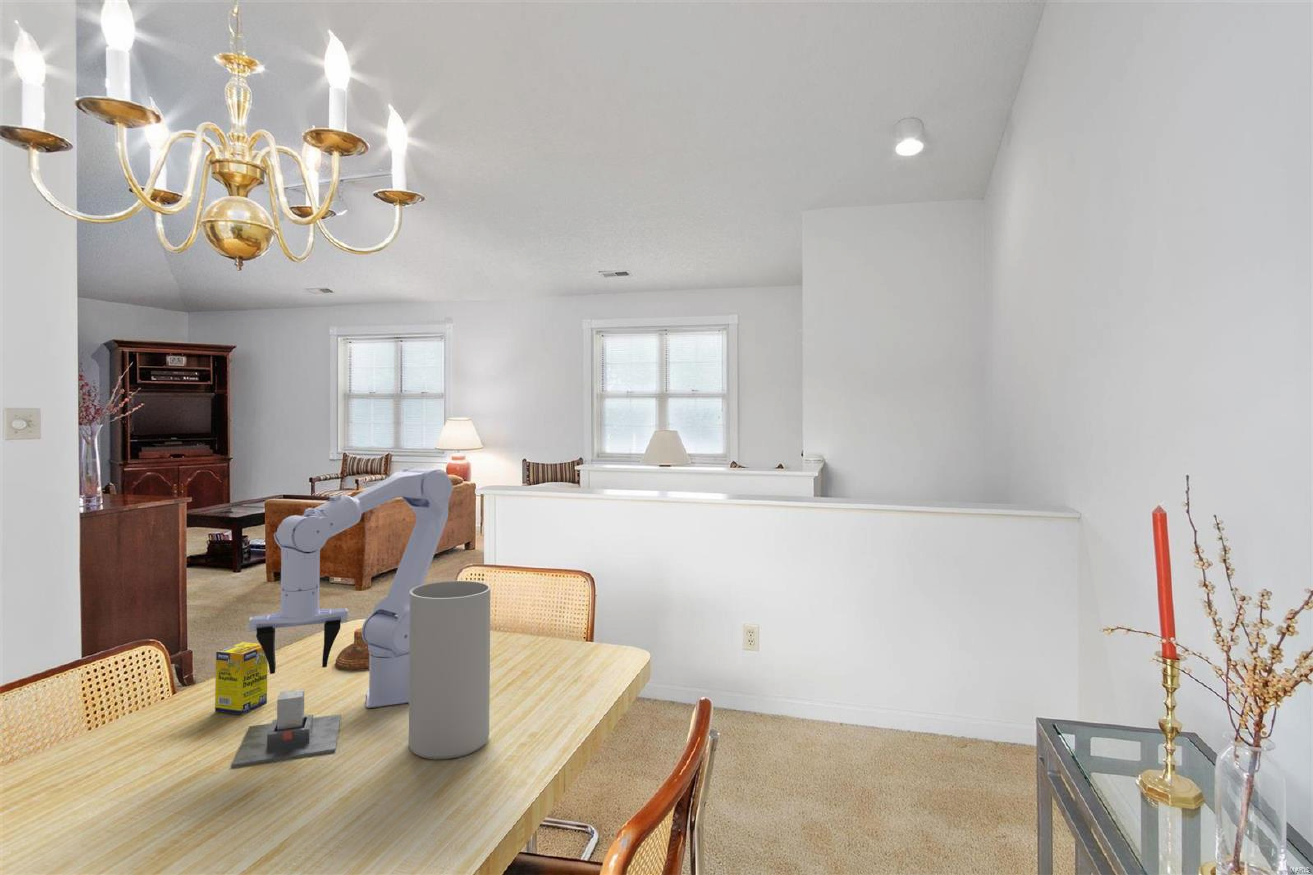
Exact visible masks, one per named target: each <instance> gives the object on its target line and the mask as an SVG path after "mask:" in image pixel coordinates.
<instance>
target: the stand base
mask: <svg viewBox="0 0 1313 875" xmlns="http://www.w3.org/2000/svg"><path fill="white" fill-rule="evenodd" d="M341 719H342V714H341V713H340V714H331V715H326V716H318V717H317V716H316V717H314V714H308V715H307V714H306V715H304V726H305V727H304V728H298V729H291V730H284V731H277V718H275V719H272V722H270V723H264V724H258V725H257V724H256V725H250V726H248V728H247V731H246V732H245V735H244V737H243V739H242V741H241V743H240V745H239V748H238V750H237V751H236V754H235V756H234V759H233V760H232V763H231V768H240V767H245V766H252V765H258V764H264V763H265V764H266V763H272V762H279V761H284V760H292V759H299V758H306V757H311V756H319V755H326V754H333V753H336V749H337V744H338V737H339V733H340V732H339V731H340V725H341Z"/></svg>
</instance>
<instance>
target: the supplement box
mask: <svg viewBox="0 0 1313 875" xmlns="http://www.w3.org/2000/svg"><path fill="white" fill-rule="evenodd" d="M214 689H215V690H214V691H215V692H214V696H215V698H214V701H215V702H214V712H216V713H217V712H218V713H223V714H233V715H240V716H241V715H244V714H245V713H247V712H249V711H252V710H254V709H256V708H258V707H261V705H264V704H266V703H268V661H267V658H266V655H265V653H264V651H263V648H262V647H261V645H260V643H256V642H255V643H254V642H248V641H247V642H246V641H242V642H240V643H237V644H234V645H232V646H228V647H226V648H223V649H218V650H216V651H215V688H214Z"/></svg>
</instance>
